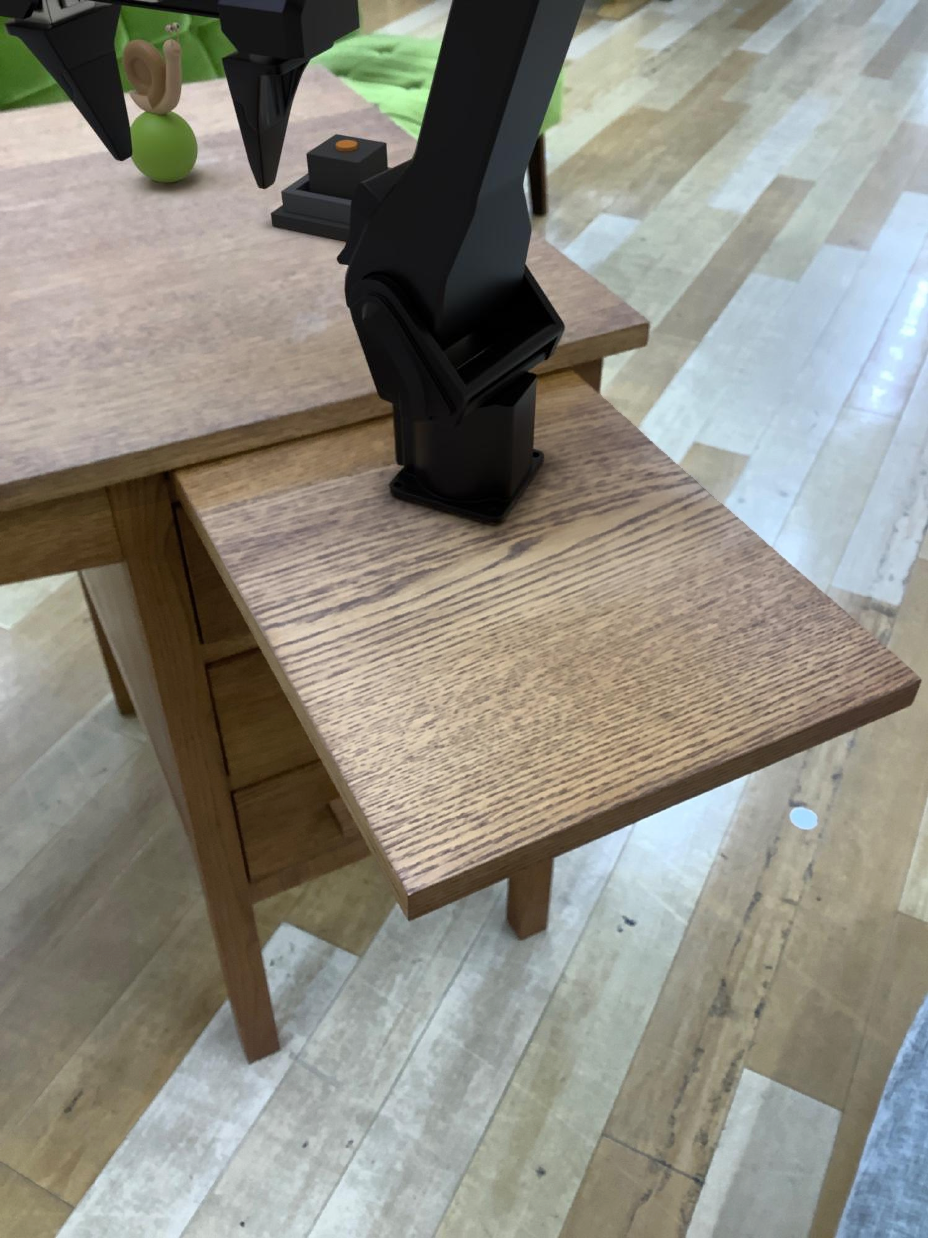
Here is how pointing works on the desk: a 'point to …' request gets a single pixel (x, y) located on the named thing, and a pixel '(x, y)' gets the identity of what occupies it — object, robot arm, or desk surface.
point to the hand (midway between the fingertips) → (194, 171)
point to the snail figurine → (159, 111)
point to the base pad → (312, 212)
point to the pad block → (344, 165)
